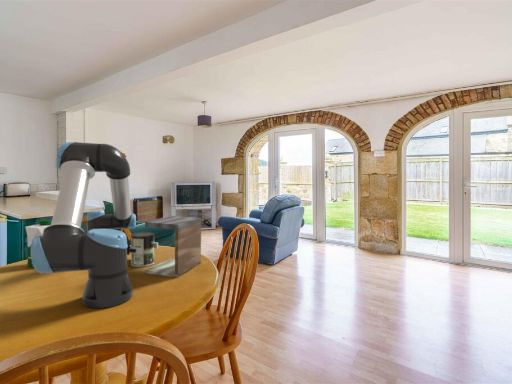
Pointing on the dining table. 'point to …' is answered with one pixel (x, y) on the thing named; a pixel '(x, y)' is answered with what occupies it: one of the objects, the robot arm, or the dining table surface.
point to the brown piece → (179, 245)
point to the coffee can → (147, 243)
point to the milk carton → (33, 232)
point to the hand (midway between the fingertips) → (150, 248)
